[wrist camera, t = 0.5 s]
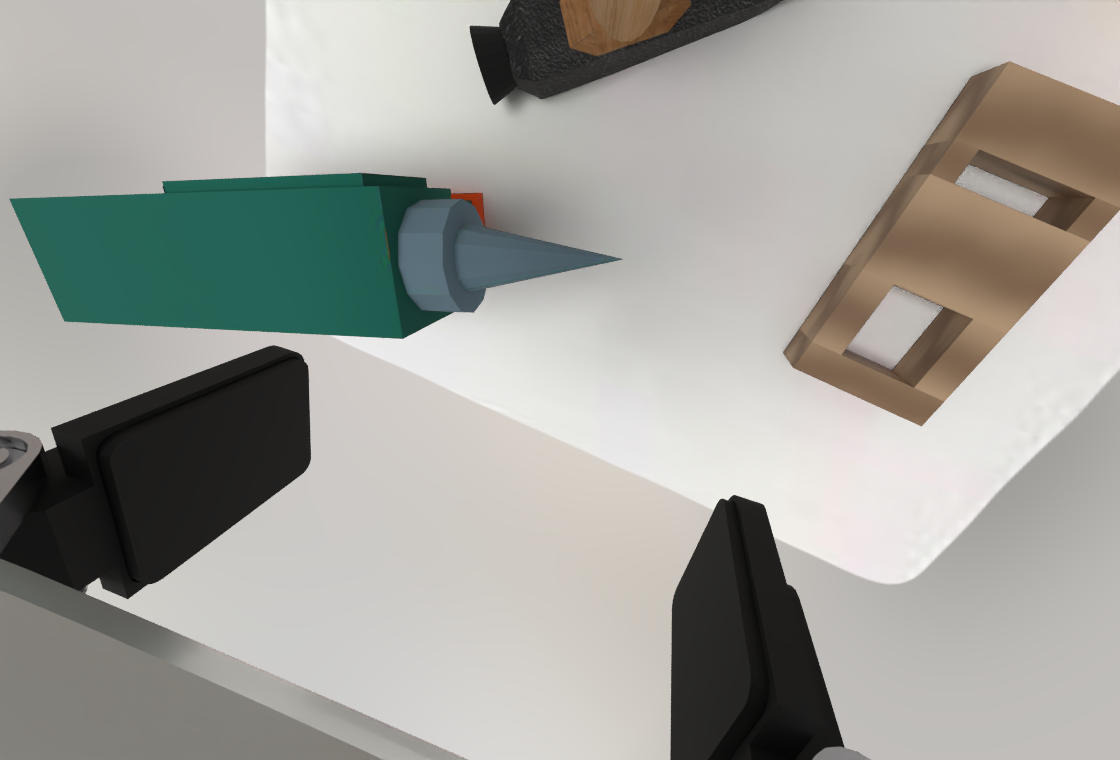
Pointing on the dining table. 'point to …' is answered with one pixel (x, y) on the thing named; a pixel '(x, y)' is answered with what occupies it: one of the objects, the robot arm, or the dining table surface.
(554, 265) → the power tool
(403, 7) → the dining table surface
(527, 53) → the hammer
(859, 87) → the dining table surface
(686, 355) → the dining table surface
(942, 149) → the block
